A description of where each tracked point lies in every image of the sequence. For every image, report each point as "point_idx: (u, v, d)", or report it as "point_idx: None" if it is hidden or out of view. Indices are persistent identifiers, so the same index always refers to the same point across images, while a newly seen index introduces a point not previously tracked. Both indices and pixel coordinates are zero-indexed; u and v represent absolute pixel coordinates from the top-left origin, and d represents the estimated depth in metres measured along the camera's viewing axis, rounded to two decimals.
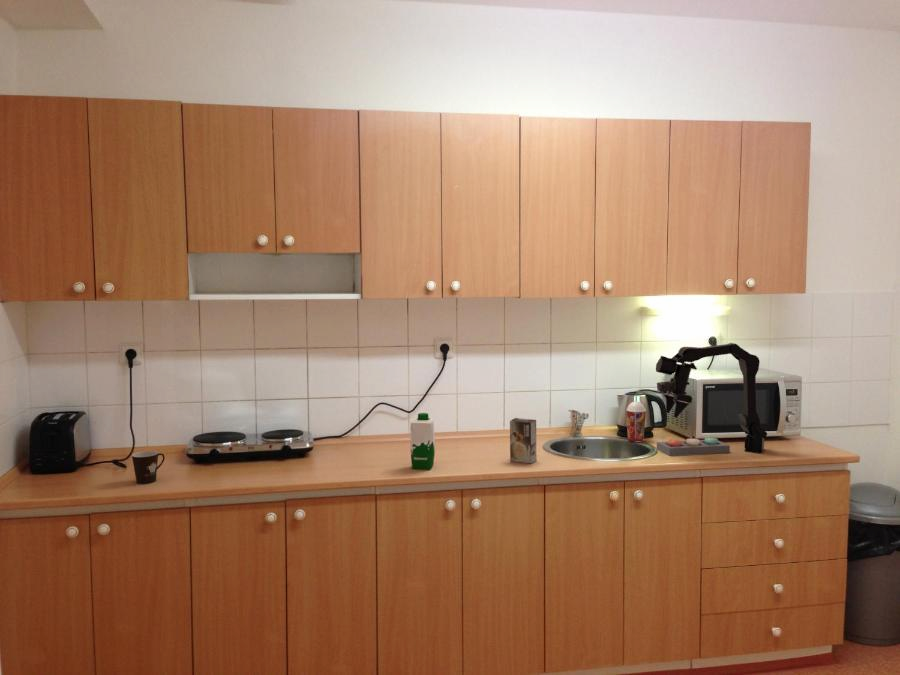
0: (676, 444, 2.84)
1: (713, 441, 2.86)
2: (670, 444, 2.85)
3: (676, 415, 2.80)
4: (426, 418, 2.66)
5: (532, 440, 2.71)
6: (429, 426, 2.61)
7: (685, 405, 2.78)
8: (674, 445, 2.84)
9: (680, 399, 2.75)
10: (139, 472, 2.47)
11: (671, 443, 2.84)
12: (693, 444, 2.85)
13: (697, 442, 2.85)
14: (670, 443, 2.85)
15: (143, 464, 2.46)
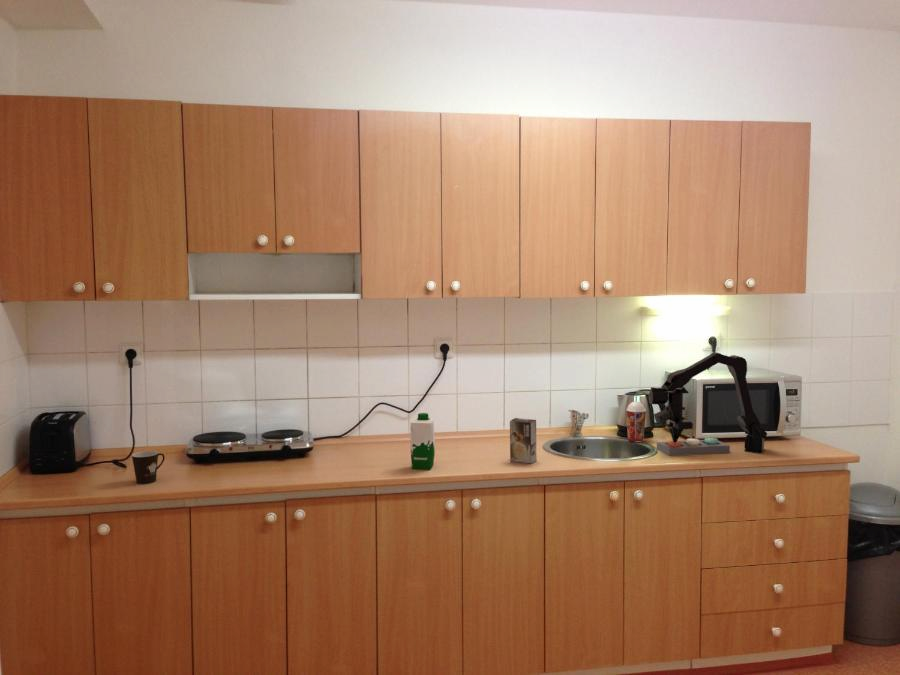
0: (676, 445, 2.84)
1: (713, 441, 2.86)
2: (670, 445, 2.85)
3: (675, 440, 2.85)
4: (426, 418, 2.66)
5: (532, 440, 2.71)
6: (429, 426, 2.61)
7: (682, 429, 2.84)
8: (674, 446, 2.84)
9: (682, 428, 2.76)
10: (139, 472, 2.47)
11: (671, 444, 2.84)
12: (693, 444, 2.85)
13: (697, 442, 2.85)
14: (670, 444, 2.85)
15: (143, 464, 2.46)
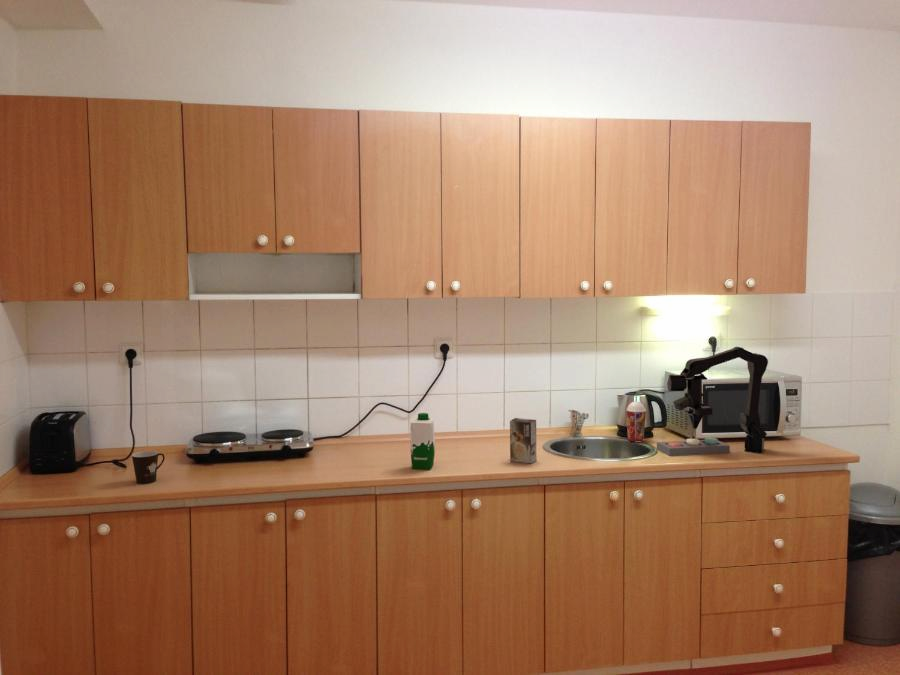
0: None
1: (713, 441, 2.86)
2: None
3: (696, 426, 2.86)
4: (426, 418, 2.66)
5: (532, 440, 2.71)
6: (429, 426, 2.61)
7: (702, 415, 2.85)
8: None
9: (702, 414, 2.77)
10: (139, 472, 2.47)
11: (671, 446, 2.84)
12: (693, 444, 2.85)
13: (697, 442, 2.85)
14: None
15: (143, 464, 2.46)
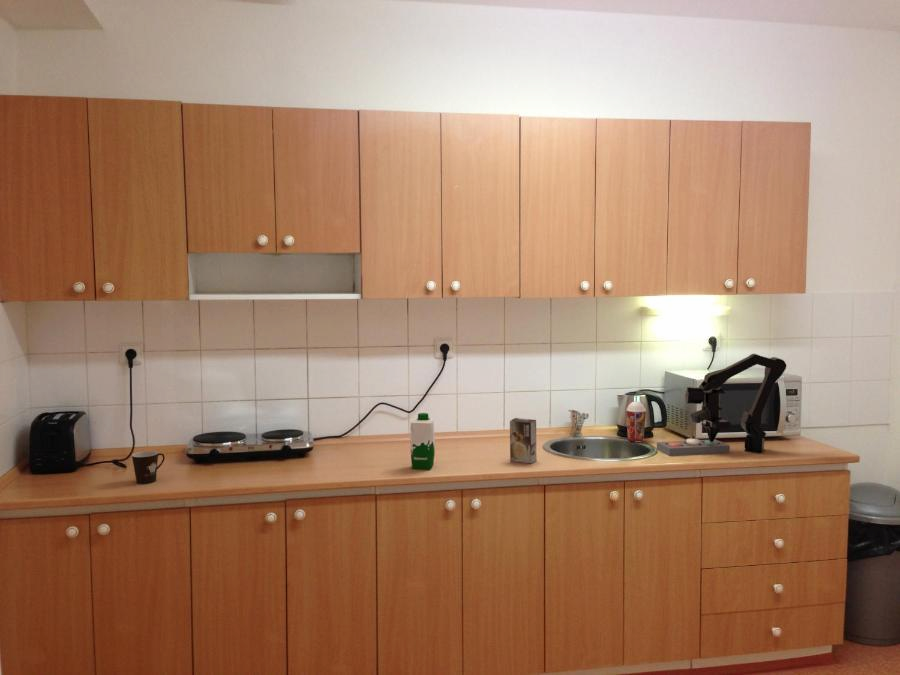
0: None
1: (713, 444, 2.86)
2: None
3: (712, 439, 2.88)
4: (426, 418, 2.66)
5: (532, 440, 2.71)
6: (429, 426, 2.61)
7: (718, 428, 2.86)
8: None
9: (720, 427, 2.79)
10: (139, 472, 2.47)
11: (671, 446, 2.84)
12: (693, 444, 2.85)
13: (697, 442, 2.85)
14: None
15: (143, 464, 2.46)
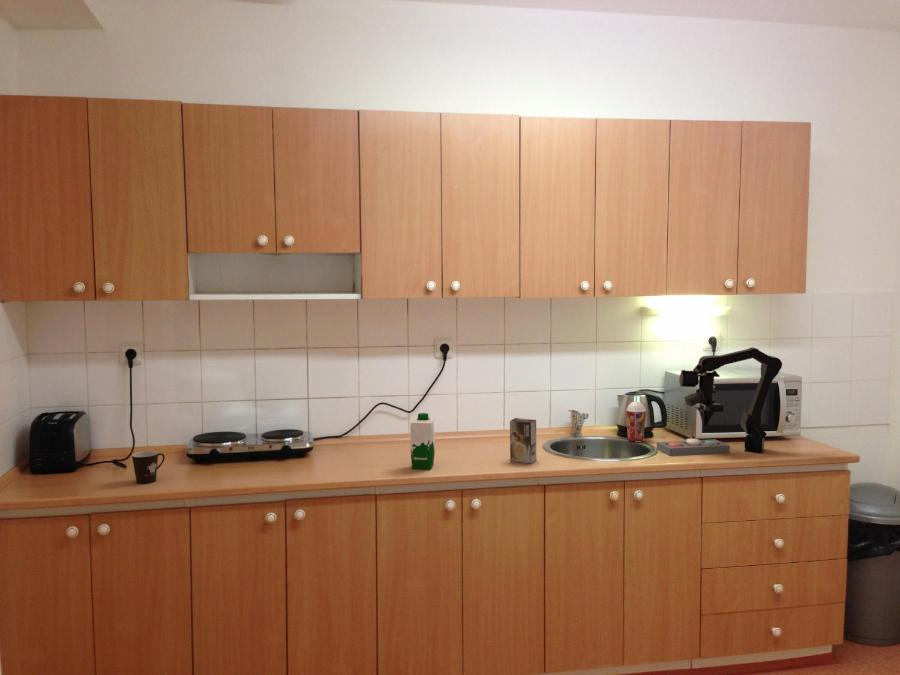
0: None
1: (713, 444, 2.86)
2: None
3: (705, 423, 2.87)
4: (426, 418, 2.66)
5: (532, 440, 2.71)
6: (429, 426, 2.61)
7: (712, 412, 2.85)
8: None
9: (713, 410, 2.78)
10: (139, 472, 2.47)
11: (671, 446, 2.84)
12: (693, 444, 2.85)
13: (697, 442, 2.85)
14: None
15: (143, 464, 2.46)
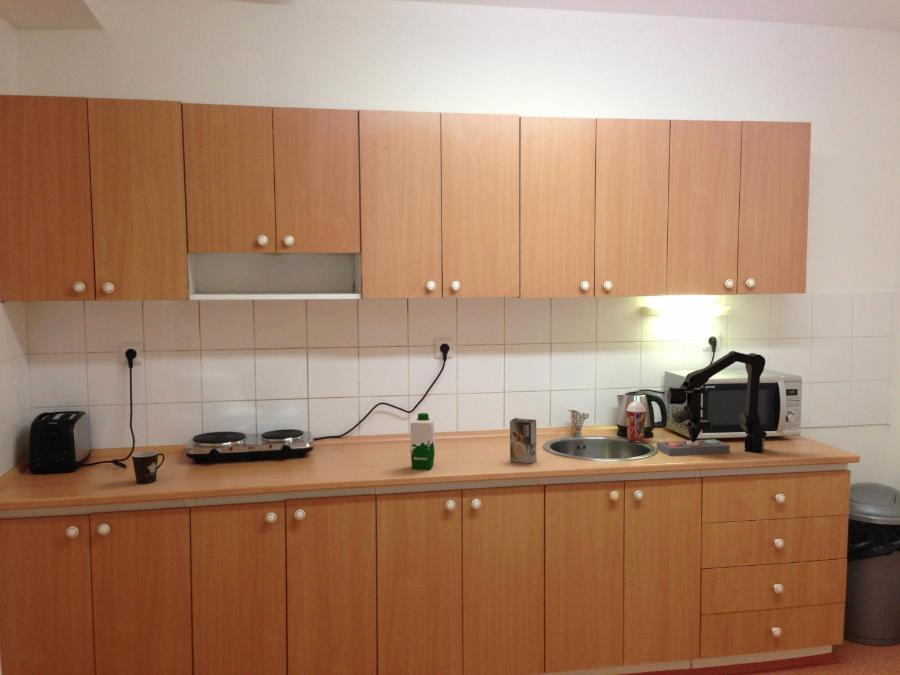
0: None
1: (713, 444, 2.86)
2: None
3: (694, 440, 2.87)
4: (426, 418, 2.66)
5: (532, 440, 2.71)
6: (429, 426, 2.61)
7: (700, 429, 2.85)
8: None
9: (701, 427, 2.77)
10: (139, 472, 2.47)
11: (671, 446, 2.84)
12: None
13: (697, 444, 2.85)
14: None
15: (143, 464, 2.46)
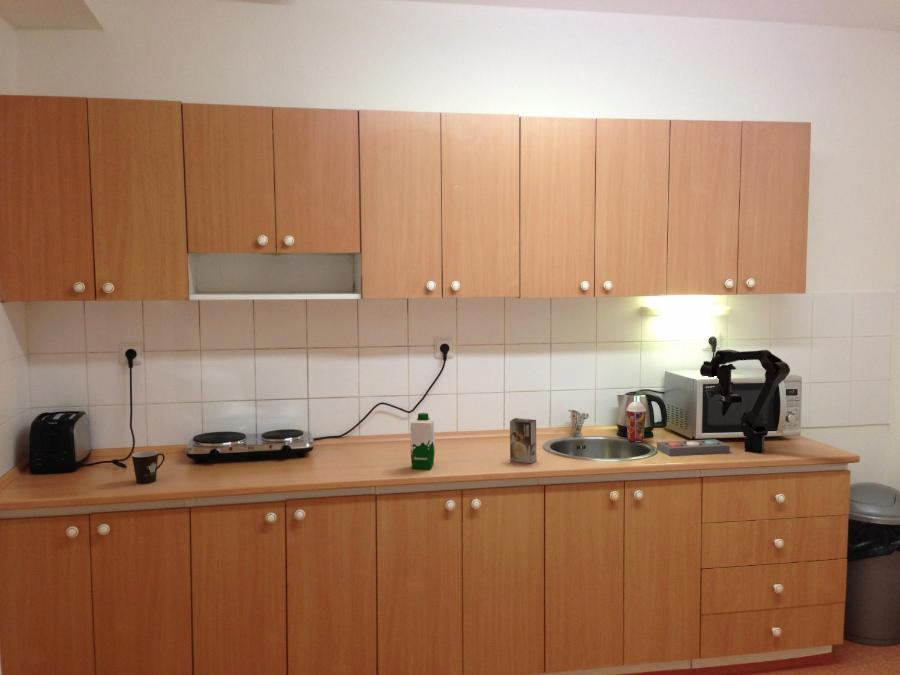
0: None
1: (713, 444, 2.86)
2: None
3: (724, 414, 2.99)
4: (426, 418, 2.66)
5: (532, 440, 2.71)
6: (429, 426, 2.61)
7: (730, 403, 2.97)
8: None
9: (733, 401, 2.89)
10: (139, 472, 2.47)
11: (671, 446, 2.84)
12: None
13: None
14: None
15: (143, 464, 2.46)
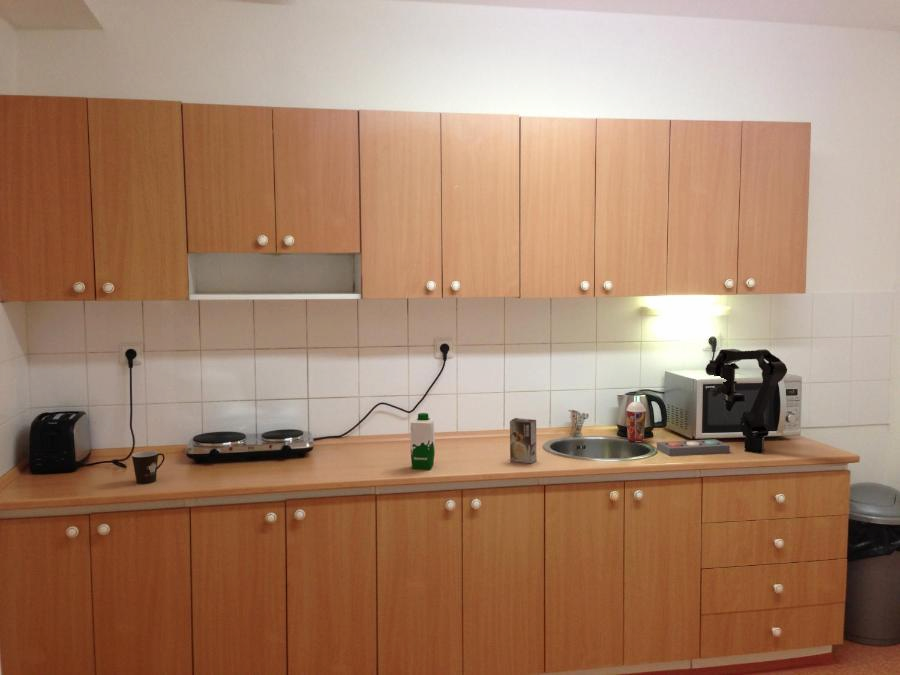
0: None
1: (713, 444, 2.86)
2: None
3: None
4: (426, 418, 2.66)
5: (532, 440, 2.71)
6: (429, 426, 2.61)
7: (734, 402, 2.98)
8: None
9: (735, 400, 2.91)
10: (139, 472, 2.47)
11: (671, 446, 2.84)
12: None
13: None
14: None
15: (143, 464, 2.46)
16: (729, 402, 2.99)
